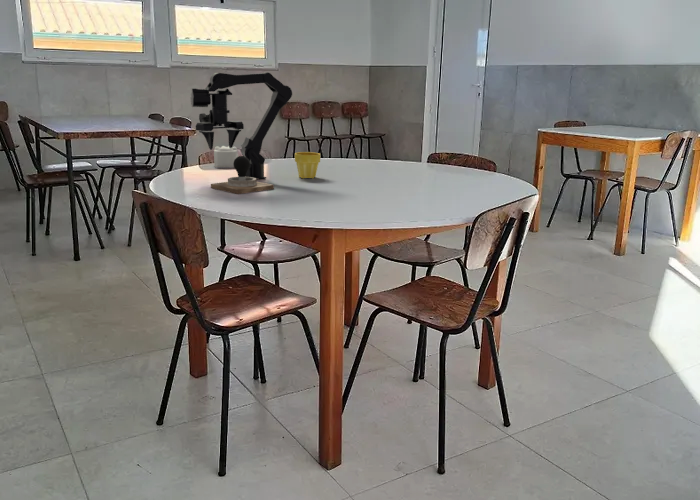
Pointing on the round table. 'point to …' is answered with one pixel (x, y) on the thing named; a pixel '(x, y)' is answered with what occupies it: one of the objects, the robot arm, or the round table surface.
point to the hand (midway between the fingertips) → (220, 148)
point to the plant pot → (307, 164)
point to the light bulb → (241, 167)
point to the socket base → (241, 189)
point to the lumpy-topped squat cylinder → (225, 157)
